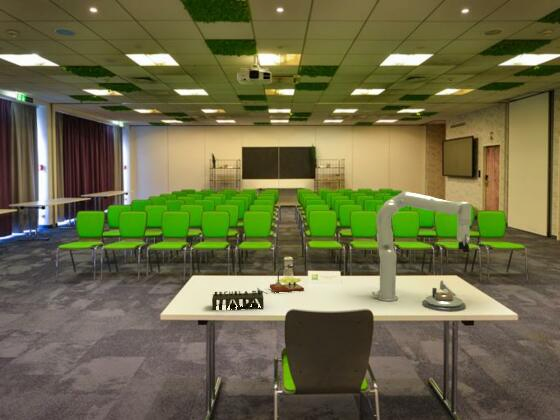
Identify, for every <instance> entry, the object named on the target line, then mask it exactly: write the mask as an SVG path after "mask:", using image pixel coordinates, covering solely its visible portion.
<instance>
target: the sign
mask: <svg viewBox="0 0 560 420" xmlns="http://www.w3.org/2000/svg"><path fill="white" fill-rule="evenodd" d="M261 291H262V290H261ZM261 291H258V293H257V291H256V290H252V291H251V292H248V291H247V290H245V292H244V293H242V292H241V291H240V290H239V291H238V290H236V291H234V292H233V291H228V293H227V291H224V292H222V291H219V292H218V291H214V293H213V294H212V298H211V306H212V307H211V311H212V310H216V306H217V305H219V310H222V305H224V304H223V303H224V301H225V305H226V310H227V308H228V306H229V305H230V310H229V311H242V310H241V309H259V310H264V294H263V293H264V292H263V293H260V292H261ZM240 300H242V304H243V307H242V306H241V307H240V305H239V304H240ZM217 301H218V302H219V303H218V302H217ZM217 303H218V304H217ZM235 304H237V306H238V307H237V310H235V309H236V308H235V307H236V305H235ZM251 304H252V307H250V306H251ZM258 304H260V306H261V308H260V307H259V308H258ZM231 309H232V310H231Z"/></svg>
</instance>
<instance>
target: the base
mask: <svg viewBox="0 0 560 420" xmlns="http://www.w3.org/2000/svg"><path fill="white" fill-rule="evenodd" d="M447 293H451V294H452V292H449V291H447ZM421 303H422V306H423V307H424V308H427V309H429V310H434V311H440V312H460V311H464V310H465V309H466V303H464V302H463V301H462V305H461V306H459V307H453V308H445V307H436V306H432V305H429V304H427V303H426V299H423V300H422V302H421Z"/></svg>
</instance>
